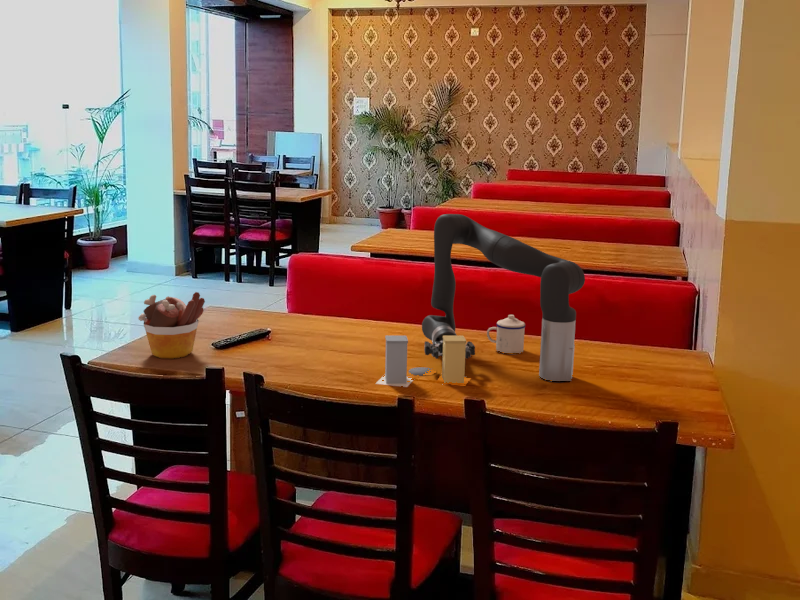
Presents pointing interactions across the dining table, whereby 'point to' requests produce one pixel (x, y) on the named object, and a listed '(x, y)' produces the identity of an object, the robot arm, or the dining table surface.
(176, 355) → the bucket of meat
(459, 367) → the ochre tea tin
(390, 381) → the slate tea tin
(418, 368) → the felt coaster
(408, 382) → the cream tile
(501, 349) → the teacup with lid
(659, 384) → the dining table surface
